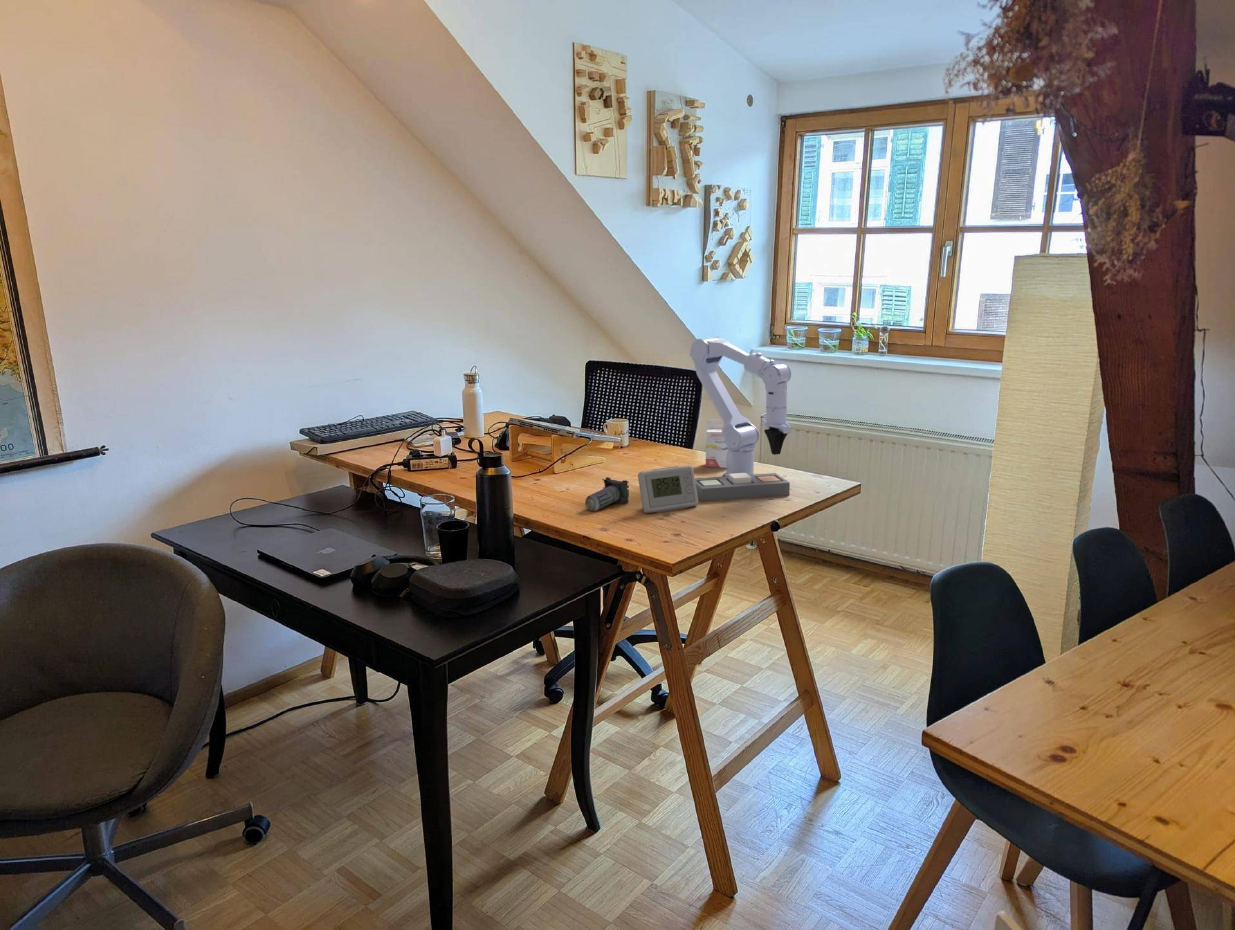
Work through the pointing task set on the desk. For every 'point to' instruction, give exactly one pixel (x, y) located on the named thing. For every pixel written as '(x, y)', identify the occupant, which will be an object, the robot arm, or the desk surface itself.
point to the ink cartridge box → (715, 445)
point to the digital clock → (668, 489)
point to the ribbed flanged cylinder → (608, 494)
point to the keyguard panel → (742, 488)
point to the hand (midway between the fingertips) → (775, 453)
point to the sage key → (709, 483)
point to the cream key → (739, 478)
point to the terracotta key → (768, 479)
